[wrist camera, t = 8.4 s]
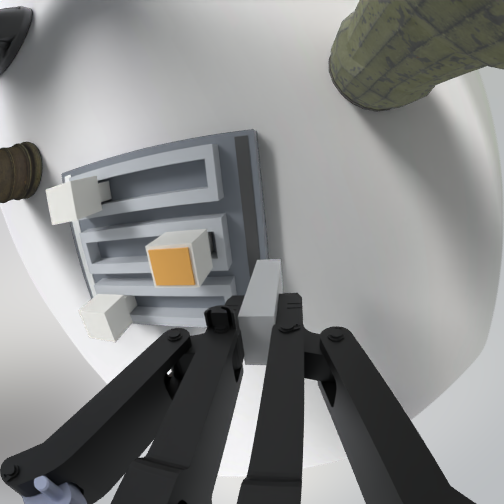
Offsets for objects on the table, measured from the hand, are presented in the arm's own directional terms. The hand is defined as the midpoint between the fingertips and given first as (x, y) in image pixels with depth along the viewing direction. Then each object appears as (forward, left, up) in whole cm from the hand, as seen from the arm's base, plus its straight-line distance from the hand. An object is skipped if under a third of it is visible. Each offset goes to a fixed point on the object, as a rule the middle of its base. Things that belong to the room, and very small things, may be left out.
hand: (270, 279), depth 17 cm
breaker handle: (0, -8, -9) cm, 12 cm away
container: (-13, -36, -11) cm, 40 cm away
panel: (0, -13, -11) cm, 17 cm away
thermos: (-16, +11, -11) cm, 23 cm away
